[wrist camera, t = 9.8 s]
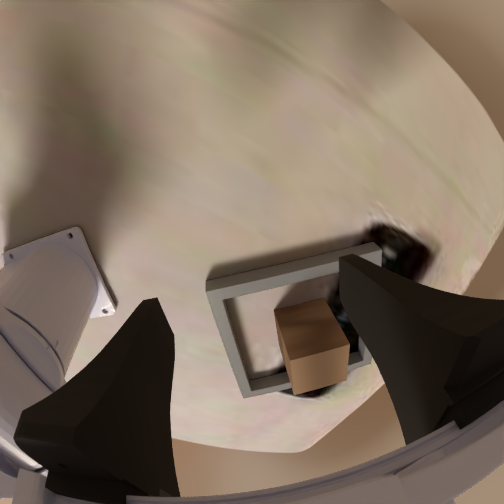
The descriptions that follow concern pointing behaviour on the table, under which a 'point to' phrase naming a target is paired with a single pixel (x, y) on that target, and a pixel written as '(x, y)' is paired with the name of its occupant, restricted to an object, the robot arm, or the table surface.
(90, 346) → the table surface
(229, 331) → the tray frame
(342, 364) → the walnut block
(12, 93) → the table surface
